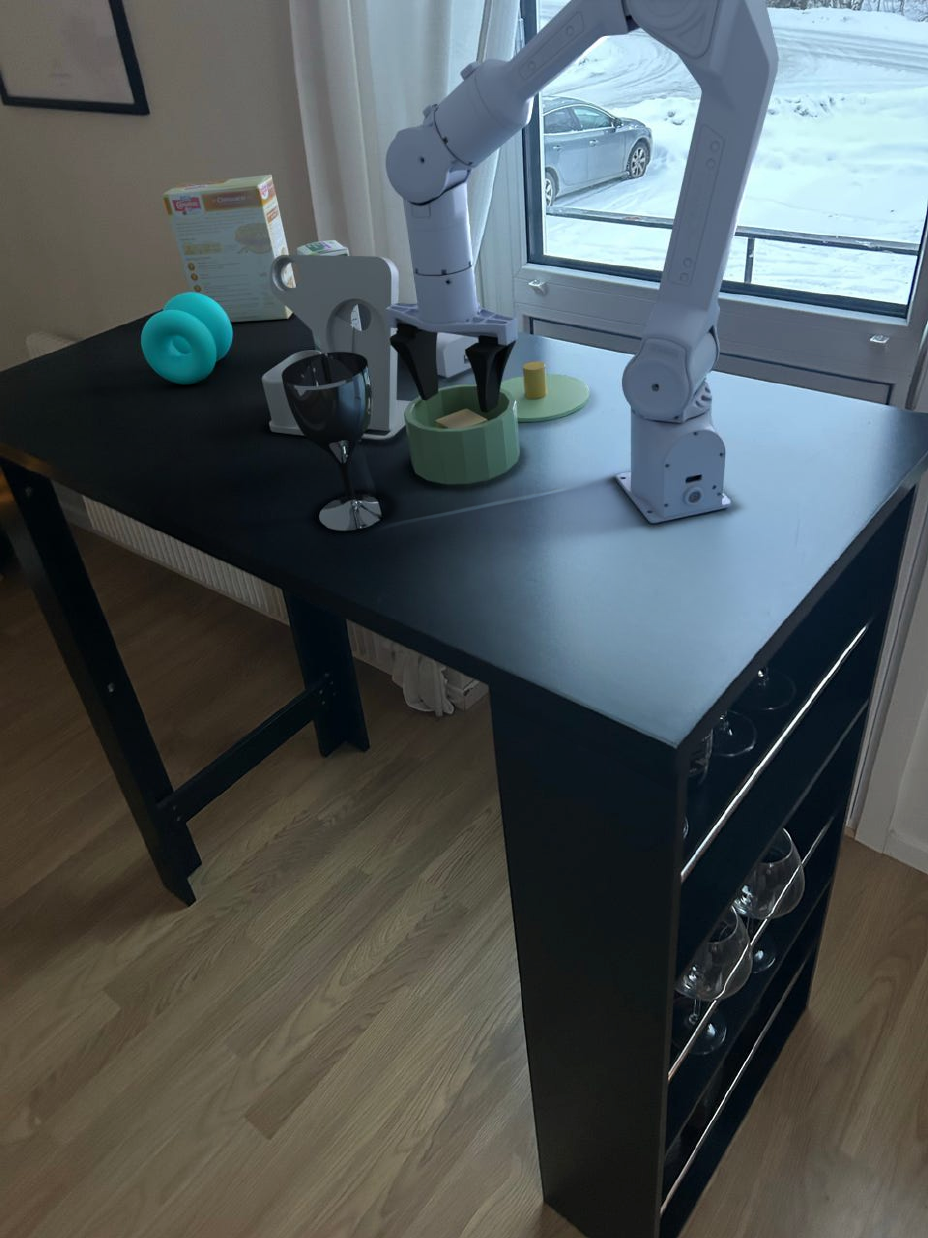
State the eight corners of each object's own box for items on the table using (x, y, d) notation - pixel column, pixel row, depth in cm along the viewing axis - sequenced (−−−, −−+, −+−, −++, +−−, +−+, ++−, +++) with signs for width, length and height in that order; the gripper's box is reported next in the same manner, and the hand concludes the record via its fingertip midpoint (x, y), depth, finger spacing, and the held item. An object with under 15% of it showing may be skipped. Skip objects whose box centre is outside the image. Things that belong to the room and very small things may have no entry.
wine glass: (354, 485, 97) (326, 346, 88) (409, 503, 92) (386, 359, 84) (298, 519, 92) (263, 377, 83) (354, 540, 88) (323, 392, 79)
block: (491, 458, 98) (487, 419, 95) (460, 471, 96) (455, 431, 93) (470, 446, 100) (466, 407, 98) (439, 458, 99) (434, 419, 96)
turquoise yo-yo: (243, 357, 132) (224, 286, 126) (221, 385, 124) (200, 311, 118) (177, 361, 133) (155, 292, 127) (151, 389, 125) (127, 317, 119)
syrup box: (315, 353, 130) (293, 246, 121) (354, 343, 131) (335, 237, 123) (327, 365, 125) (305, 255, 117) (368, 354, 127) (349, 245, 118)
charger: (427, 336, 130) (500, 358, 121) (376, 357, 126) (447, 382, 116) (423, 302, 128) (497, 322, 118) (370, 323, 123) (442, 345, 113)
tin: (532, 475, 94) (528, 417, 91) (424, 497, 93) (415, 439, 89) (504, 430, 104) (499, 376, 100) (405, 450, 102) (396, 395, 98)
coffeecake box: (301, 304, 148) (273, 173, 137) (288, 319, 143) (258, 184, 131) (213, 310, 151) (179, 181, 139) (198, 325, 145) (160, 193, 134)
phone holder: (263, 430, 111) (223, 278, 100) (308, 396, 118) (276, 250, 107) (388, 445, 104) (360, 282, 93) (429, 407, 111) (407, 252, 100)
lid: (604, 413, 104) (603, 374, 101) (498, 435, 103) (494, 395, 100) (570, 374, 114) (568, 337, 111) (473, 393, 113) (469, 356, 110)
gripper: (531, 259, 85) (540, 398, 93) (409, 248, 92) (427, 377, 100) (487, 283, 81) (500, 426, 89) (363, 269, 88) (386, 402, 96)
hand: (459, 402), depth 94 cm, fingers open, 7 cm apart
